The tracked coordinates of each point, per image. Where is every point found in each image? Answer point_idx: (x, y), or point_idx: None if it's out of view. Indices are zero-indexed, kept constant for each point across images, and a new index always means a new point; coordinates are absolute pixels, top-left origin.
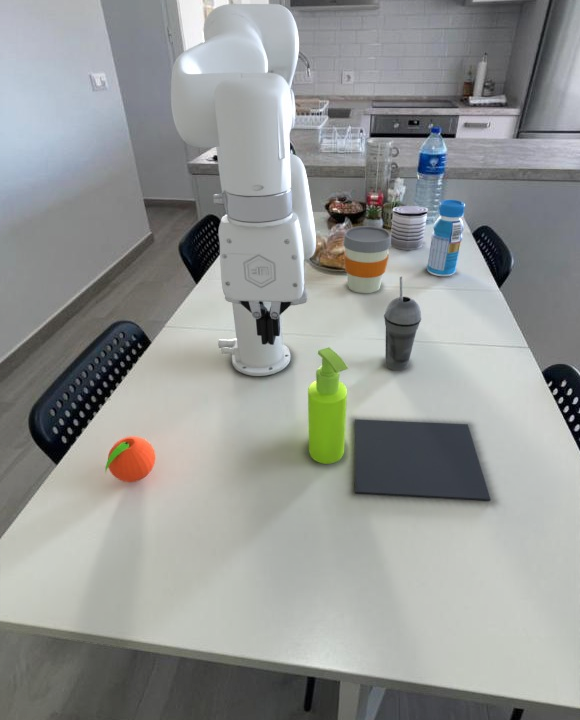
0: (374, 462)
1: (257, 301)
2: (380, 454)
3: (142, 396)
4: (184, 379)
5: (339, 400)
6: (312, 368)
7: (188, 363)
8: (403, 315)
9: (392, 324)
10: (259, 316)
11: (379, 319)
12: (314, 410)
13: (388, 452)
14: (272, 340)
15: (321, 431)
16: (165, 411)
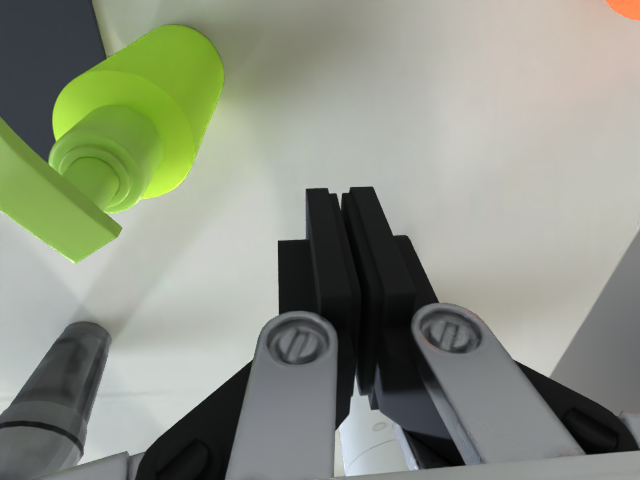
0: (47, 33)
1: (487, 457)
2: (40, 63)
3: (607, 201)
4: (521, 255)
5: (64, 88)
6: (261, 309)
7: (513, 297)
8: (8, 452)
9: (51, 424)
10: (422, 324)
11: (153, 438)
12: (168, 74)
13: (22, 72)
14: (311, 201)
15: (159, 45)
16: (559, 163)
